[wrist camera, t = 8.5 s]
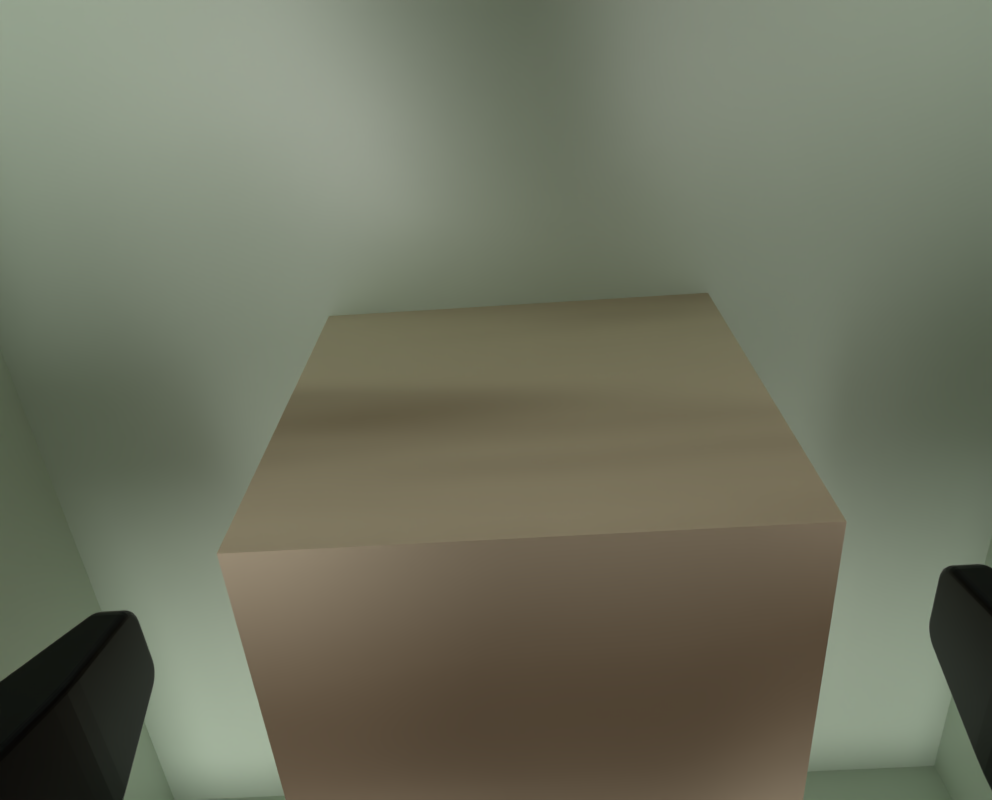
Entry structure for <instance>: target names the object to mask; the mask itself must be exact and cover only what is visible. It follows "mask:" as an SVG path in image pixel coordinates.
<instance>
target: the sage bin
mask: <svg viewBox="0 0 992 800" xmlns="http://www.w3.org/2000/svg"><path fill="white" fill-rule="evenodd" d="M697 293H708V294H709V295H710V297H711V299H712V300H713V302H714V304H715V305H716V307H717V309H718V310H719V312H720V313H721V315H722V317H723V318H724V320H725V322H726V323H727V325H728V327H729V328H730V330H731V332H732V333H733V335H734V337H735V338H736V340H737V341H738V343H739V345H740V346H741V348H742V350H743V351H744V353H745V355H746V356H747V358H748V360H749V361H750V363H751V365H752V366H753V368H754V370H755V371H756V373H757V374H758V376H759V378H760V379H761V381H762V383H763V384H764V386H765V388H766V389H767V391H768V393H769V394H770V396H771V398H772V399H773V401H774V402H775V404H776V406H777V407H778V409H779V411H780V412H781V414H782V416H783V417H784V419H785V421H786V422H787V424H788V426H789V427H790V429H791V431H792V432H793V434H794V435H795V437H796V439H797V440H798V442H799V444H800V445H801V447H802V449H803V450H804V452H805V454H806V455H807V457H808V459H809V460H810V462H811V463H812V465H813V467H814V468H815V470H816V472H817V473H818V475H819V477H820V478H821V480H822V482H823V483H824V485H825V487H826V488H827V490H828V492H829V493H830V495H831V496H832V498H833V500H834V501H835V503H836V505H837V506H838V508H839V510H840V511H841V513H842V515H843V516H844V518H845V520H846V521H847V523H846V529H845V535H844V542H843V548H842V554H841V561H840V567H839V574H838V580H837V586H836V593H835V599H834V605H833V612H832V618H831V625H830V631H829V637H828V644H827V650H826V656H825V663H824V669H823V676H822V682H821V688H820V695H819V701H818V707H817V714H816V720H815V727H814V733H813V739H812V746H811V752H810V758H809V765H808V771H807V778H806V784H805V790H804V797H803V800H992V790H991V788H990V786H989V784H988V782H987V780H986V778H985V776H984V774H983V772H982V769H981V767H980V765H979V762H978V760H977V758H976V755H975V753H974V750H973V748H972V745H971V743H970V740H969V738H968V735H967V733H966V730H965V728H964V725H963V722H962V720H961V717H960V715H959V712H958V710H957V707H956V705H955V702H954V700H953V697H952V694H951V692H950V689H949V687H948V684H947V682H946V679H945V677H944V674H943V672H942V669H941V666H940V664H939V661H938V659H937V656H936V654H935V651H934V649H933V646H932V643H931V639H930V633H929V621H930V616H931V612H932V607H933V602H934V598H935V593H936V589H937V584H938V580H939V576H940V573H941V572H942V570H943V569H944V568H945V567H948V566H951V565H966V564H983V565H987V566H989V567H991V568H992V0H0V681H2V680H3V679H4V678H6V677H7V676H8V675H10V674H11V673H12V672H14V671H15V670H17V669H18V668H19V667H21V666H22V665H23V664H25V663H26V662H27V661H29V660H30V659H32V658H33V657H34V656H36V655H37V654H38V653H40V652H41V651H42V650H44V649H45V648H47V647H48V646H49V645H51V644H52V643H53V642H55V641H56V640H57V639H59V638H60V637H62V636H63V635H64V634H66V633H67V632H68V631H70V630H71V629H72V628H74V627H75V626H77V625H78V624H79V623H81V622H82V621H83V620H85V619H86V618H87V617H89V616H90V615H92V614H94V613H97V612H102V611H121V610H127V611H131V612H133V613H134V614H135V615H136V616H137V618H138V620H139V623H140V626H141V629H142V631H143V634H144V637H145V640H146V642H147V645H148V648H149V651H150V654H151V656H152V659H153V663H154V669H155V678H154V685H153V689H152V693H151V697H150V700H149V704H148V708H147V712H146V716H145V720H144V723H143V727H142V731H141V735H140V739H139V743H138V746H137V750H136V754H135V758H134V762H133V766H132V769H131V773H130V777H129V781H128V785H127V789H126V792H125V796H124V799H123V800H286V799H285V796H284V792H283V789H282V785H281V781H280V778H279V774H278V771H277V767H276V764H275V760H274V756H273V753H272V749H271V746H270V742H269V739H268V735H267V731H266V728H265V724H264V721H263V717H262V714H261V710H260V707H259V703H258V699H257V696H256V692H255V689H254V685H253V682H252V678H251V674H250V671H249V667H248V664H247V660H246V657H245V653H244V650H243V646H242V642H241V639H240V635H239V632H238V628H237V625H236V621H235V617H234V614H233V610H232V607H231V603H230V600H229V596H228V592H227V589H226V585H225V582H224V578H223V575H222V571H221V568H220V564H219V560H218V557H217V552H218V550H219V548H220V546H221V544H222V541H223V539H224V537H225V535H226V533H227V531H228V529H229V527H230V525H231V522H232V520H233V518H234V516H235V514H236V512H237V510H238V508H239V505H240V503H241V501H242V499H243V497H244V495H245V493H246V491H247V488H248V486H249V484H250V482H251V480H252V478H253V476H254V474H255V472H256V469H257V467H258V465H259V463H260V461H261V459H262V457H263V455H264V452H265V450H266V448H267V446H268V444H269V442H270V440H271V438H272V435H273V433H274V431H275V429H276V427H277V425H278V423H279V421H280V419H281V416H282V414H283V412H284V410H285V408H286V406H287V404H288V402H289V399H290V397H291V395H292V393H293V391H294V389H295V387H296V385H297V383H298V380H299V378H300V376H301V374H302V372H303V370H304V368H305V366H306V363H307V361H308V359H309V357H310V355H311V353H312V351H313V349H314V346H315V344H316V342H317V340H318V338H319V336H320V334H321V332H322V330H323V327H324V325H325V323H326V321H327V319H328V317H329V316H339V315H355V314H371V313H388V312H404V311H420V310H436V309H453V308H469V307H485V306H502V305H518V304H534V303H550V302H567V301H583V300H599V299H615V298H632V297H648V296H664V295H680V294H697Z"/></svg>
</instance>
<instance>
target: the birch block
mask: <svg viewBox="0 0 992 800" xmlns="http://www.w3.org/2000/svg"><path fill="white" fill-rule="evenodd" d="M846 523H847V521H846V520H845V518H844V516H843V515H842V513H841V511H840V510H839V508H838V506H837V505H836V503H835V501H834V500H833V498H832V496H831V495H830V493H829V492H828V490H827V488H826V487H825V485H824V483H823V482H822V480H821V478H820V477H819V475H818V473H817V472H816V470H815V468H814V467H813V465H812V463H811V462H810V460H809V459H808V457H807V455H806V454H805V452H804V450H803V449H802V447H801V445H800V444H799V442H798V440H797V439H796V437H795V435H794V434H793V432H792V431H791V429H790V427H789V426H788V424H787V422H786V421H785V419H784V417H783V416H782V414H781V412H780V411H779V409H778V407H777V406H776V404H775V402H774V401H773V399H772V398H771V396H770V394H769V393H768V391H767V389H766V388H765V386H764V384H763V383H762V381H761V379H760V378H759V376H758V374H757V373H756V371H755V370H754V368H753V366H752V365H751V363H750V361H749V360H748V358H747V356H746V355H745V353H744V351H743V350H742V348H741V346H740V345H739V343H738V341H737V340H736V338H735V337H734V335H733V333H732V332H731V330H730V328H729V327H728V325H727V323H726V322H725V320H724V318H723V317H722V315H721V313H720V312H719V310H718V309H717V307H716V305H715V304H714V302H713V300H712V299H711V297H710V295H709V294H708V293H697V294H680V295H664V296H648V297H632V298H615V299H599V300H583V301H567V302H550V303H534V304H518V305H502V306H485V307H469V308H453V309H436V310H420V311H404V312H388V313H371V314H355V315H339V316H329V317H328V319H327V321H326V323H325V325H324V327H323V330H322V332H321V334H320V336H319V338H318V340H317V342H316V344H315V346H314V349H313V351H312V353H311V355H310V357H309V359H308V361H307V363H306V366H305V368H304V370H303V372H302V374H301V376H300V378H299V380H298V383H297V385H296V387H295V389H294V391H293V393H292V395H291V397H290V399H289V402H288V404H287V406H286V408H285V410H284V412H283V414H282V416H281V419H280V421H279V423H278V425H277V427H276V429H275V431H274V433H273V435H272V438H271V440H270V442H269V444H268V446H267V448H266V450H265V452H264V455H263V457H262V459H261V461H260V463H259V465H258V467H257V469H256V472H255V474H254V476H253V478H252V480H251V482H250V484H249V486H248V488H247V491H246V493H245V495H244V497H243V499H242V501H241V503H240V505H239V508H238V510H237V512H236V514H235V516H234V518H233V520H232V522H231V525H230V527H229V529H228V531H227V533H226V535H225V537H224V539H223V541H222V544H221V546H220V548H219V550H218V552H217V557H218V560H219V564H220V568H221V571H222V575H223V578H224V582H225V585H226V589H227V592H228V596H229V600H230V603H231V607H232V610H233V614H234V617H235V621H236V625H237V628H238V632H239V635H240V639H241V642H242V646H243V650H244V653H245V657H246V660H247V664H248V667H249V671H250V674H251V678H252V682H253V685H254V689H255V692H256V696H257V699H258V703H259V707H260V710H261V714H262V717H263V721H264V724H265V728H266V731H267V735H268V739H269V742H270V746H271V749H272V753H273V756H274V760H275V764H276V767H277V771H278V774H279V778H280V781H281V785H282V789H283V792H284V796H285V799H286V800H803V797H804V790H805V784H806V778H807V771H808V765H809V758H810V752H811V746H812V739H813V733H814V727H815V720H816V714H817V707H818V701H819V695H820V688H821V682H822V676H823V669H824V663H825V656H826V650H827V644H828V637H829V631H830V625H831V618H832V612H833V605H834V599H835V593H836V586H837V580H838V574H839V567H840V561H841V554H842V548H843V542H844V535H845V529H846Z"/></svg>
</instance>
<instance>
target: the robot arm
mask: <svg viewBox="0 0 992 800" xmlns="http://www.w3.org/2000/svg"><path fill="white" fill-rule="evenodd" d="M929 633H930V639H931V643H932V646H933V649H934V651H935V654H936V656H937V659H938V661H939V664H940V666H941V669H942V672H943V674H944V677H945V679H946V682H947V684H948V687H949V689H950V692H951V694H952V697H953V700H954V702H955V705H956V707H957V710H958V712H959V715H960V717H961V720H962V722H963V725H964V728H965V730H966V733H967V735H968V738H969V740H970V743H971V745H972V748H973V750H974V753H975V755H976V758H977V760H978V762H979V765H980V767H981V769H982V772H983V774H984V776H985V778H986V780H987V782H988V784H989V786H990V788H991V790H992V568H991V567H989V566H987V565H983V564H966V565H951V566H948V567H945V568H944V569H943V570H942V572H941V573H940V576H939V580H938V584H937V589H936V593H935V598H934V602H933V607H932V612H931V616H930V621H929ZM154 678H155V669H154V663H153V659H152V656H151V654H150V651H149V648H148V645H147V642H146V640H145V637H144V634H143V631H142V629H141V626H140V623H139V620H138V618H137V616H136V615H135V614H134V613H133V612H131V611H127V610H121V611H102V612H97V613H94V614H92V615H90V616H89V617H87V618H86V619H85V620H83V621H82V622H81V623H79V624H78V625H77V626H75V627H74V628H72V629H71V630H70V631H68V632H67V633H66V634H64V635H63V636H62V637H60V638H59V639H57V640H56V641H55V642H53V643H52V644H51V645H49V646H48V647H47V648H45V649H44V650H42V651H41V652H40V653H38V654H37V655H36V656H34V657H33V658H32V659H30V660H29V661H27V662H26V663H25V664H23V665H22V666H21V667H19V668H18V669H17V670H15V671H14V672H12V673H11V674H10V675H8V676H7V677H6V678H4V679H3V680H2V681H0V800H123V799H124V796H125V792H126V789H127V785H128V781H129V777H130V773H131V769H132V766H133V762H134V758H135V754H136V750H137V746H138V743H139V739H140V735H141V731H142V727H143V723H144V720H145V716H146V712H147V708H148V704H149V700H150V697H151V693H152V689H153V685H154Z"/></svg>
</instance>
